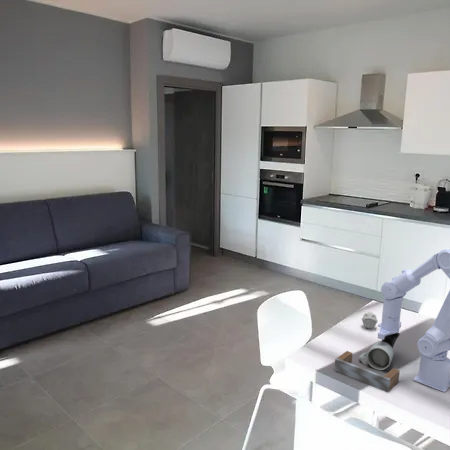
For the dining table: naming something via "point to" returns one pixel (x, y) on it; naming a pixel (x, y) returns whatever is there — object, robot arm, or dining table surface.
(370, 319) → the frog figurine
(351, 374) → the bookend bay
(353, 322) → the dining table surface
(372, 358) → the ceramic mug
